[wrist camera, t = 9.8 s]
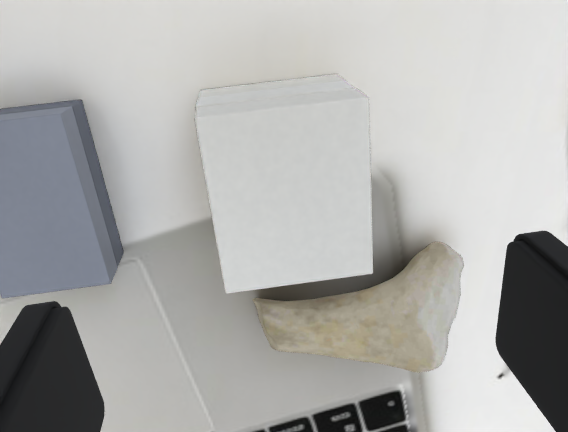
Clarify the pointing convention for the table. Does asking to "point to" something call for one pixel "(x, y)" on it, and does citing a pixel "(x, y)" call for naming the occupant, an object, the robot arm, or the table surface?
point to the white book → (289, 188)
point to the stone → (376, 316)
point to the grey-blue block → (53, 203)
